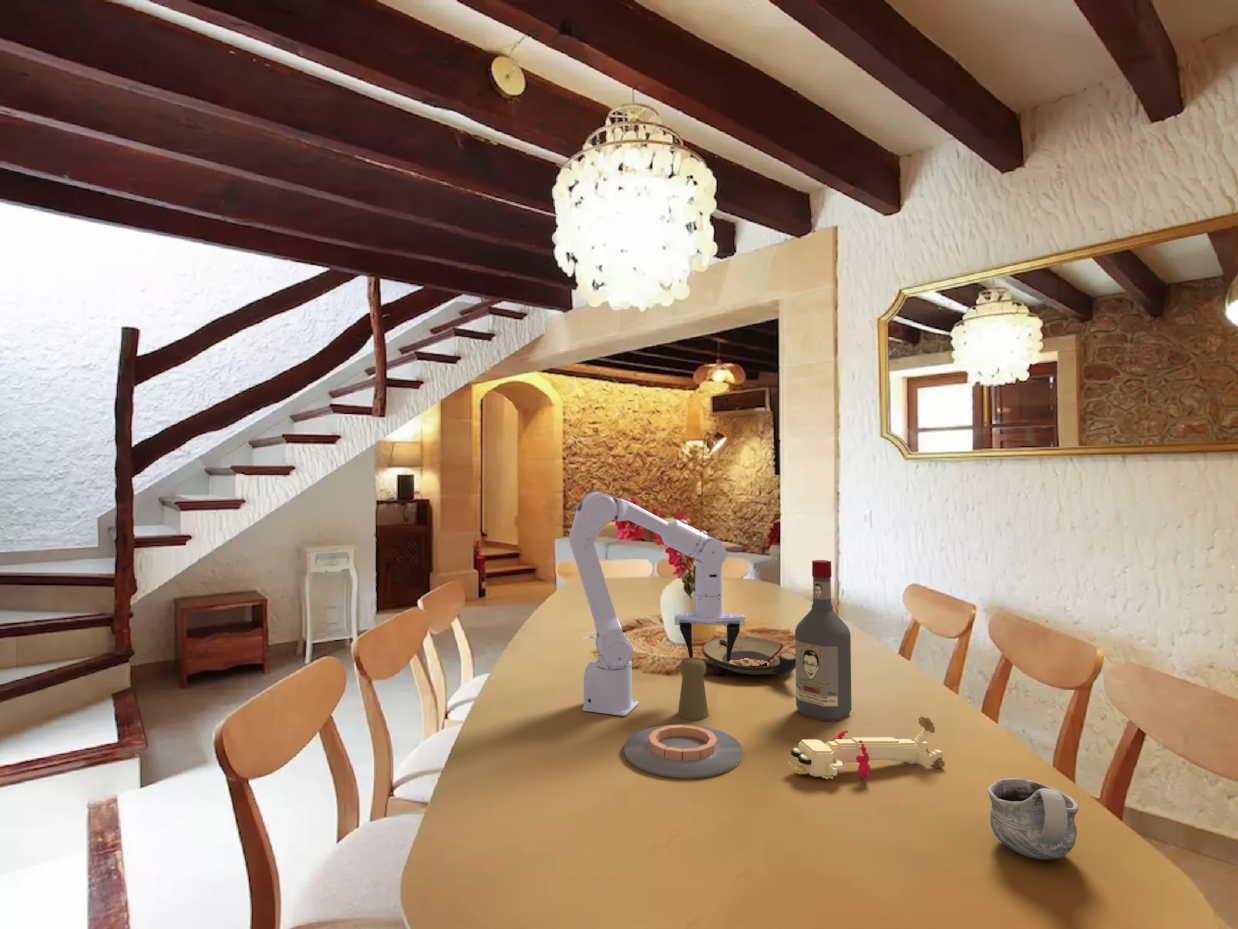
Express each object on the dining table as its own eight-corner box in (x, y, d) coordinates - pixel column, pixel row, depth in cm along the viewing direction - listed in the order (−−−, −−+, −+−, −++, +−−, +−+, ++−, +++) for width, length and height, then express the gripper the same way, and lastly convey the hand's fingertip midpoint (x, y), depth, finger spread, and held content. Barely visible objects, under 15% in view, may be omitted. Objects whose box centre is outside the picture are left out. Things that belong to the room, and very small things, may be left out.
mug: (1049, 831, 89) (1048, 755, 89) (1116, 889, 77) (1114, 801, 77) (975, 830, 90) (974, 754, 90) (1029, 888, 77) (1028, 800, 77)
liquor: (814, 701, 140) (812, 557, 140) (856, 712, 134) (854, 560, 134) (791, 712, 134) (789, 561, 134) (833, 724, 127) (831, 565, 128)
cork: (707, 721, 130) (707, 663, 130) (676, 719, 131) (675, 662, 131) (709, 710, 135) (709, 655, 136) (679, 708, 137) (679, 654, 137)
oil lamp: (774, 653, 177) (774, 624, 177) (824, 690, 147) (823, 655, 147) (691, 657, 174) (691, 628, 174) (725, 696, 144) (725, 660, 144)
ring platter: (606, 767, 110) (606, 752, 110) (646, 724, 128) (646, 711, 128) (728, 787, 102) (728, 770, 102) (751, 738, 121) (751, 724, 121)
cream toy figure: (913, 757, 116) (777, 759, 111) (916, 706, 116) (781, 705, 111) (952, 784, 106) (806, 786, 101) (956, 728, 106) (809, 728, 101)
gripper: (673, 597, 138) (674, 664, 137) (745, 598, 136) (746, 665, 136) (674, 591, 145) (675, 654, 144) (743, 592, 143) (743, 656, 143)
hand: (709, 659), depth 141 cm, fingers open, 7 cm apart
